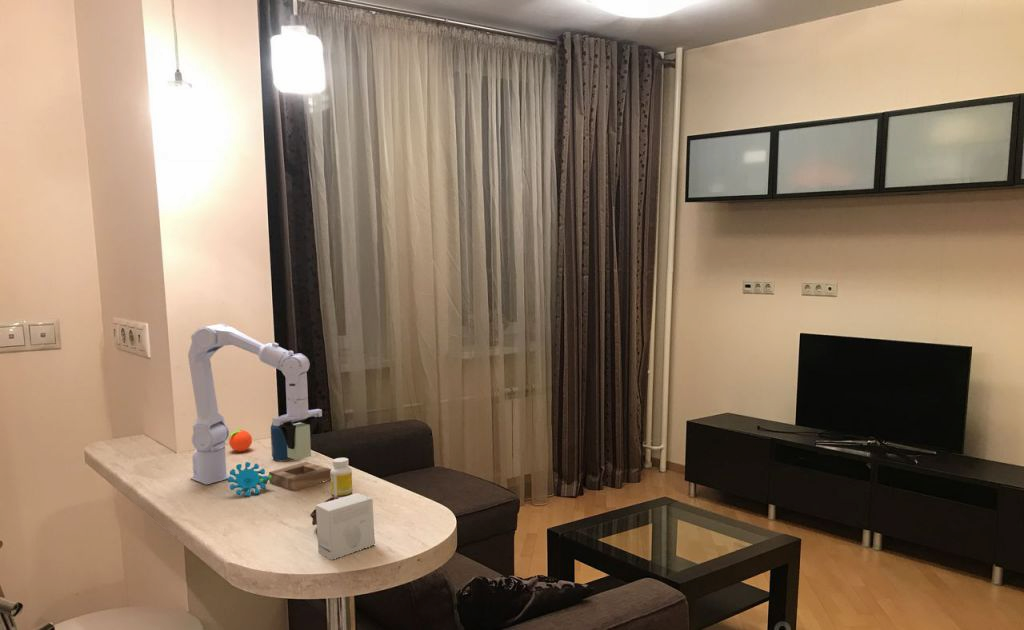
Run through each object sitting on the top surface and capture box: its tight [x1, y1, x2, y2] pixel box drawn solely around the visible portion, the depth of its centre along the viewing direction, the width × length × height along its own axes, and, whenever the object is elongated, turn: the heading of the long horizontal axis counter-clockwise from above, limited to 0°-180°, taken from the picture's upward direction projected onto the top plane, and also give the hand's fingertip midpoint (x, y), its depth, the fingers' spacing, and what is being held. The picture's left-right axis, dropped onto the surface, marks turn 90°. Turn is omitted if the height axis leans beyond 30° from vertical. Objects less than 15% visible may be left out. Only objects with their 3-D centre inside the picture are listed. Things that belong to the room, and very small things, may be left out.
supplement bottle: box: [330, 457, 353, 498], centre depth 182 cm, size 5×5×10 cm
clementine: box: [227, 429, 253, 453], centre depth 227 cm, size 8×7×7 cm
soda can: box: [270, 420, 292, 462], centre depth 218 cm, size 7×7×12 cm
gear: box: [227, 461, 272, 497], centre depth 188 cm, size 11×6×10 cm
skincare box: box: [315, 492, 376, 561], centre depth 149 cm, size 10×6×10 cm, turn 133°
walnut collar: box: [268, 461, 332, 492], centre depth 196 cm, size 12×12×3 cm
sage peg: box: [287, 422, 312, 461], centre depth 195 cm, size 4×4×9 cm
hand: (299, 446), depth 195 cm, fingers closed on sage peg, 4 cm apart
